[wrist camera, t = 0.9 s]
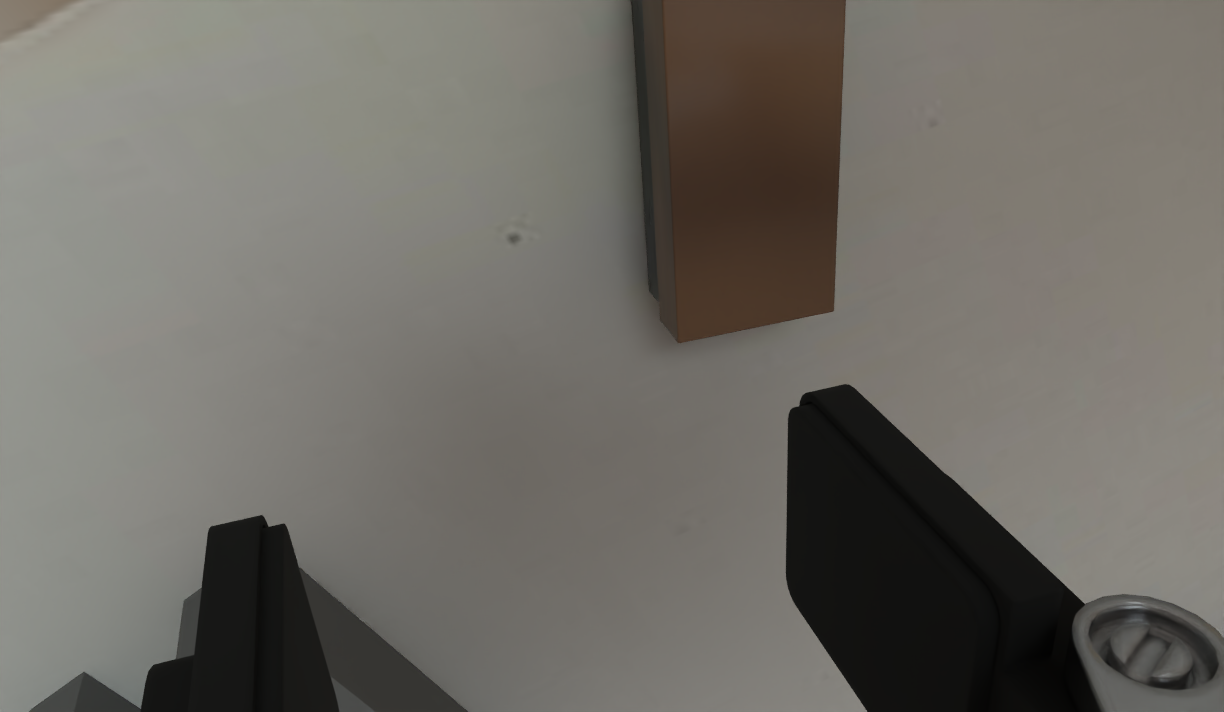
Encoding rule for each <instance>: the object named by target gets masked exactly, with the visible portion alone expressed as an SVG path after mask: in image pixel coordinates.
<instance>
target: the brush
mask: <svg viewBox="0 0 1224 712" xmlns="http://www.w3.org/2000/svg"><path fill="white" fill-rule="evenodd" d="M845 6H846V0H632V14H633V31H634V47H635V64H636V80H637V97H638V113H639V130H640V146H641V163H642V179H643V196H644V212H645V229H646V245H647V262H648V278H649V291H650V293H651V294H652V295H653V296H654V298H655V299H656V300H657V301H658V302H659V311H660V321H661V322H662V323H663V325H664V326H665V327H666V328H667V330H668V331H669V332H670V333H671V335H672V336H673V337H674V338H675V340H676V341H677V342H678V343H683V342H688V341H692V340H697V339H702V338H707V337H712V336H717V335H722V334H726V333H731V332H736V331H741V330H746V329H751V328H755V327H760V326H765V325H770V324H775V323H780V322H785V321H789V320H794V319H799V318H804V317H809V316H814V315H818V314H823V313H828V312H833V311H834V294H835V268H836V241H837V215H838V189H839V163H840V137H841V110H842V84H843V58H844V32H845Z"/></svg>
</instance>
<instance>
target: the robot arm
mask: <svg viewBox="0 0 1224 712" xmlns="http://www.w3.org/2000/svg"><path fill="white" fill-rule="evenodd" d="M786 580H787V585H788V589H789V592H790V595H791V597H792V600H793V601H794V603H795V605H796V606H797V608H798V609H799V611H800V612H801V614H802V615H803V617H804V618H805V620H806V621H807V623H808V624H809V626H810V627H811V629H812V630H813V632H814V633H815V635H816V636H817V638H818V639H819V641H820V642H821V643H822V645H823V646H824V648H825V649H826V651H827V652H828V654H829V655H830V657H831V658H832V660H833V661H834V663H835V664H836V666H837V667H838V669H839V670H840V672H841V673H842V675H843V676H844V678H845V679H846V680H847V682H848V683H849V685H850V686H851V688H852V689H853V691H854V692H855V694H856V695H857V697H858V698H859V700H860V701H861V703H862V704H863V706H864V707H865V709H866V710H867V712H1224V638H1223V637H1222V636H1221V634H1220V633H1219V632H1218V631H1217V630H1216V629H1215V628H1214V627H1212V626H1211V625H1210V624H1208V623H1207V622H1206V621H1204V620H1203V619H1201V618H1200V617H1199V616H1197V615H1196V614H1194V613H1192V612H1190V611H1187V610H1185V609H1183V608H1181V607H1179V606H1177V605H1175V604H1173V603H1169V602H1166V601H1162V600H1158V599H1155V598H1151V597H1147V596H1137V595H1127V594H1122V595H1113V596H1104V597H1101V598H1099V599H1096V600H1094V601H1091V602H1089V603H1086V604H1084V603H1083V602H1082V601H1081V600H1080V599H1079V598H1078V597H1077V596H1076V595H1075V594H1074V593H1073V592H1072V591H1070V590H1069V589H1068V588H1067V587H1066V586H1065V585H1064V584H1063V583H1062V582H1061V581H1060V580H1059V579H1058V578H1057V577H1056V576H1055V575H1054V574H1052V573H1051V572H1050V571H1049V570H1048V569H1047V568H1046V567H1045V566H1044V565H1043V564H1042V563H1041V562H1040V561H1039V560H1038V559H1037V558H1035V557H1034V556H1033V555H1032V554H1031V553H1030V552H1029V551H1028V550H1027V549H1026V548H1025V547H1024V546H1023V545H1022V544H1021V543H1020V542H1019V541H1017V540H1016V539H1015V538H1014V537H1013V536H1012V535H1011V534H1010V533H1009V532H1008V531H1007V530H1006V529H1005V528H1004V527H1003V526H1002V525H1000V524H999V523H998V522H997V521H996V520H995V519H994V518H993V517H992V516H991V515H990V514H989V513H988V512H987V511H986V510H985V509H984V508H982V507H981V506H980V505H979V504H978V503H977V502H976V501H975V500H974V499H973V498H972V497H971V496H970V495H969V494H968V493H967V492H965V491H964V490H963V489H962V488H961V487H960V486H959V485H958V484H957V483H956V482H955V481H954V480H953V479H952V478H950V477H949V476H948V475H946V474H945V473H944V472H943V471H942V470H941V469H939V468H938V467H937V466H936V465H935V464H934V463H933V462H932V461H931V460H930V459H929V458H928V457H927V456H926V455H925V454H924V453H923V452H921V451H920V450H919V449H918V448H917V447H916V446H915V445H914V444H913V443H912V442H911V441H910V440H909V439H908V438H907V437H906V436H905V435H903V434H902V433H901V432H900V431H899V430H898V429H897V428H896V427H895V426H894V425H893V424H892V423H891V422H890V421H889V420H888V419H887V418H886V417H884V416H883V415H882V414H881V413H880V412H879V411H878V410H877V409H876V408H875V407H874V406H873V405H872V404H871V403H870V402H869V401H868V400H866V399H865V398H864V397H863V396H862V395H861V394H860V393H859V392H858V391H857V390H856V389H855V388H854V387H852V386H850V385H847V384H844V385H839V386H835V387H830V388H826V389H822V390H817V391H813V392H808V393H805V394H804V395H803V396H802V398H801V400H800V405H799V407H794V408H792V409H791V410H790V412H789V417H788V465H787V534H786ZM141 712H339V707H338V702H337V698H336V694H335V690H334V687H333V684H332V680H331V677H330V673H329V670H328V666H327V663H326V659H325V656H324V652H323V649H322V646H321V642H320V639H319V635H318V632H317V628H316V625H315V621H314V618H313V615H312V611H311V608H310V604H309V601H308V597H307V594H306V590H305V587H304V584H303V580H302V577H301V573H300V570H299V566H298V563H297V559H296V556H295V553H294V549H293V546H292V542H291V539H290V535H289V532H288V529H287V527H286V525H285V524H280V525H275V526H271V527H268V525H267V522H266V520H265V518H264V517H263V516H262V515H260V516H256V517H251V518H247V519H243V520H238V521H234V522H229V523H225V524H220V525H216V526H211V527H210V528H209V531H208V537H207V546H206V555H205V564H204V572H203V581H202V590H201V599H200V608H199V616H198V625H197V634H196V643H195V651H194V655H191V656H187V657H183V658H179V659H175V660H171V661H167V662H163V663H159V664H155V665H153V666H152V667H151V669H150V670H149V672H148V675H147V679H146V683H145V689H144V695H143V700H142V706H141Z"/></svg>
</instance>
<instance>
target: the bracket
mask: <svg viewBox="0 0 1224 712" xmlns="http://www.w3.org/2000/svg"><path fill="white" fill-rule="evenodd" d="M299 570H300V573H301V577H302V580H303V584H304V587H305V590H306V594H307V597H308V601H309V604H310V608H311V611H312V615H313V618H314V621H315V625H316V628H317V632H318V635H319V639H320V642H321V646H322V649H323V652H324V656H325V659H326V663H327V666H328V670H329V673H330V677H331V680H332V684H333V687H334V690H335V694H336V698H337V702H338V707H339V712H468V711H466V710H465V709H464V708H463V707H462V706H461V705H459V704H458V703H457V702H456V701H455V700H454V699H452V698H451V697H450V696H449V695H448V694H447V693H445V692H444V691H443V690H442V689H441V688H440V687H438V686H437V685H436V684H435V683H434V682H432V681H431V680H430V679H429V678H428V677H427V676H425V675H424V674H423V673H422V672H421V671H420V670H418V669H417V668H416V667H415V666H414V665H413V664H411V663H410V662H409V661H408V660H407V659H406V658H404V657H403V656H402V655H401V654H400V653H399V652H397V651H396V650H395V649H394V648H393V647H392V646H390V645H389V644H388V643H387V642H386V641H385V640H383V639H382V638H381V637H380V636H379V635H377V634H376V633H375V632H374V631H373V630H372V629H370V628H369V627H368V626H367V625H366V624H365V623H363V622H362V621H361V620H360V619H359V618H358V617H356V616H355V615H354V614H353V613H352V612H351V611H349V610H348V609H347V608H346V607H345V606H344V605H342V604H341V603H340V602H339V601H338V600H337V599H335V598H334V597H333V596H332V595H331V594H330V593H328V592H327V591H326V590H325V589H324V588H323V587H321V586H320V585H319V584H318V583H317V582H315V581H314V580H313V579H312V578H311V577H310V576H308V575H307V574H306V573H305V572H304V571H303V570H301V569H300V568H299ZM201 590H202V588H201V589H199V590H198V591H197V592H195V593H194V594H192V595H191V596H190V597H188V598H187V599H185V600H184V604H183V611H182V618H181V626H180V633H179V641H178V648H177V655H176V659H179V658H183V657H187V656H191V655H194V651H195V643H196V634H197V625H198V616H199V608H200V599H201ZM29 712H141V709H139V708H138V707H136V706H135V705H133V704H132V703H130V702H129V701H127V700H126V699H124V698H123V697H121V696H120V695H118V694H117V693H115V692H114V691H112V690H111V689H109V688H108V687H106V686H105V685H103V684H102V683H100V682H98V681H97V680H95V679H94V678H92V677H91V676H89V675H88V674H86V673H85V672H83V673H82V674H80V675H79V676H77V677H76V678H75V679H73V680H72V681H70V682H69V683H68V684H66V685H65V686H63V687H62V688H61V689H59V690H58V691H56V692H55V693H54V694H52V695H51V696H49V697H48V698H47V699H45V700H44V701H42V702H41V703H40V704H38V705H37V706H35V707H34V708H33V709H32V710H30V711H29Z"/></svg>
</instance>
